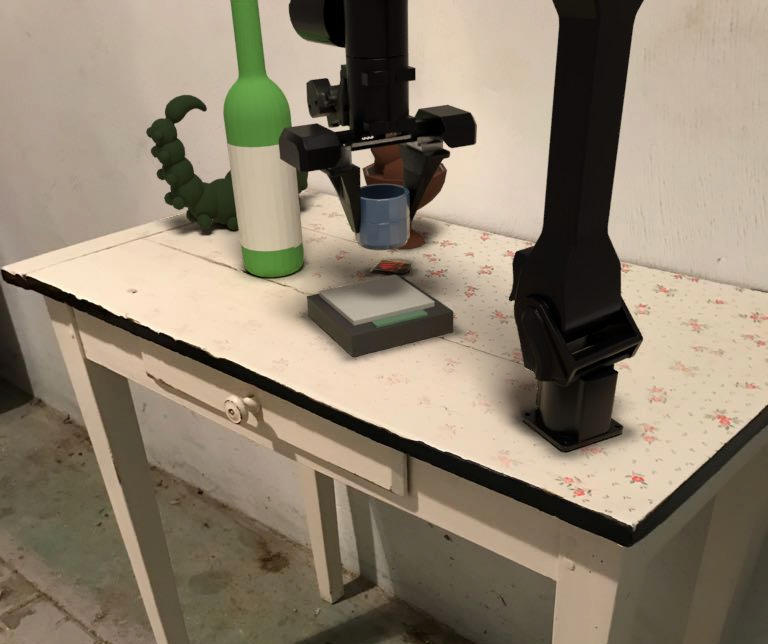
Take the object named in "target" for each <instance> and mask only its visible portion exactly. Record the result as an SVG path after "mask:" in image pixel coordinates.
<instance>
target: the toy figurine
mask: <svg viewBox="0 0 768 644" xmlns="http://www.w3.org/2000/svg"><path fill="white" fill-rule="evenodd" d="M193 110H199V111H202V112H205V113H206V112H207V110H208V108H207V105H206V104H205V102H203V100H201V99H200V98H198V97H196V96H194V95H192V94H181V95H178V96H175V97H173V98H172V99H171V100H169V101H168V102H167V104H166V105H165V109H164V116H165V118H161V117H160V118H157V119H156V120H154V121H153V122H152V123H151V124H150V126H149V127H147V128H146V130H145V131H146V132H145V133H146V135H147V137H148V138H149V139H151V140H152V142H153V143H154V144H155V145H153V147H152V148H150V154H151V155H152V157H153V158H155V159H157V160H158V162H159V163H160V164H161V165H162V166H161V167H160V168H159V169H157V171H156V178H157V179H159V180H160V181H165V182H166V184H167V185H169V187H170V188H169V189H170V190H169V191H168V192H167V193H165V194H164V197H163V199H164V202H165V204H166V205H169V206H170V207H172V208H174V209H175V210H177V211H181V210H183V209H185V208H187V210H186V212H185V213H186V215H185V217H186V218H187V221H189V222H190V223H196V224H197V225H198V226H199V227H200V228H201V229H204V230H209V228H211V227H212V225H213V222H215V223H217V224H221V225H226V227H227V228H228V229H229V230H232V231H236V230H239V228H238V221H237V214H236V206H235V199H234V192H233V184H232V177H231V169H229V171H228V172H226V174H225V176H224V178H223V177H221V178H217V179H214V180H212V181H211V182H205V181H204V182H203V180H202V179H201V177H199V176H198V174H196V173H195V169H194V166H193V164H192V162H191V161H190V160H189V159H188V158H187V157H186V148H185V145H184V143H183V142H182V140H181V139H179V138H178V130H177V127H176V124H179V123H180V122H181V121H182V120H184V119H185V117H186V115H187V114H188V113H189V112H190V111H193ZM296 174H297V185H298V196H299V206H301V205H302V199H301V197H300V194H301V193H302V192H303V191H306V190H307V189H308V187H309V183H308V178H309V172H303V171H299V170H297V169H296Z"/></svg>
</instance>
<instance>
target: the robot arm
mask: <svg viewBox="0 0 768 644" xmlns="http://www.w3.org/2000/svg"><path fill="white" fill-rule="evenodd" d="M551 2H552V4H553V7H554V9H555V11H556V14H557V17H558V31H557V32H558V33H557V45H556V56H555V70H554V82H553V95H552V107H551V117H550V131H549V132H550V133H549V143H548V145H549V146H548V157H547V170H546V180H545V181H546V183H545V195H544V206H543V218H542V228H541V232H540V235H539V236H538V237H537V239H536V242H535V243H534V245H531V246H528V247H525V248H522V249H519V250H516V251H515V252H514V256H513V259H512V264H511V266H512V267H511V268H512V286H511V290H510V293H509V296H508V301H509V302H513V301H514V302H513V317H514V323H515V325H516V329H517V335H518V340H519V346H520V352H521V358H522V362H523V363H522V364H523V367H524V368H525V369H527V370H528V371H530V372H533V375H534V379H535V380H537V385H536V386H537V387H536V395H535V396H536V397H535V406H536V408H534V409H531V410H528V411H524V412H522V414H521V419H522V421H523V422H524V423H526V424H527V425H528V426H530V427H531V428H533V429H534V430H535V431H536V432H538V433H539V434H540V435H541V436H543V437H544V438H545V439H546V440H548V441H549V442H550V443H551V444H553V445H554V446H555V447H556V448H558V449H559V450H561V451H564V452H566V451H567V452H568V451H571V450H575V449H577V448H580V447H583V446H587V445H589V444H592V443H595V442H599V441H602V440H605V439H608V438H611V437H614V436H617V435H620V434H623V432H624V425H623V424H621V423H620V422H619V421H617V420H615V419H614V418H613V417H612V415H613V409H614V402H615V397H616V390H617V385H618V378H619V371H618V370H616V369H615V364H617V363H620V362H622V361H624V360H626V359H632V358H633V357H635V356H636V354H637V353H638V350H639V349H640V347H641V345H642V343H643V341H644V337H643V333H642V332H641V330H640V329H639V327H638V325H637V323H636V321H635V319H634V317H633V315H632V314H631V311H630V310H629V307H628V305H627V304H626V302H625V300H624V298H623V296H622V263H621V260H620V258H619V256H618V253H617V250H616V248H615V246H614V244H613V241H612V239H611V237H610V235H609V223H610V215H611V206H612V199H613V190H614V183H615V174H616V167H617V166H616V165H617V160H618V152H619V151H618V149H619V144H620V137H621V136H620V135H621V129H622V127H621V126H622V120H623V113H624V112H623V111H624V103H625V96H626V88H627V79H628V72H629V64H630V58H631V50H632V49H631V48H632V41H633V34H634V26H635V21H636V16H637V15H638V12H639V10H640V8H641V6H642V4H643V3H644V2H645V0H551ZM288 16H289V20H290V22H291V25H292V29H294V32H295V33H296V34H297V35H298V36H299V37H300V38H301V39H302V40H305V41H307V42H310V43H315V44H319V45H325V46H331V47H337V48H343V49H344V50H345V51H344V52H345V63H344V64H340V70H339V83H338V84H334V85H332V84H331V82H330V78H327V77H323V78H314V79H310V80H308V81H307V82H306V83H305V86H306V88H305V89H306V103H307V108H308V113H309V116H310V117H311V118H312V119H316V118H324V117H326V122H327V126H328V127H325V126H324V125H321V124H320V123H318V122H315V123H309V124H301V125H295V126H294V125H293V126H292V127H287V128H284V129H283V131H282V133H281V135H280V138H279V151H280V159H281V160H283V161H284V162H286V163H288V164H289V165H291V166H292V167H294V168H296V169H297V170H299V171H303V172H308V173H309V172H315V171H317V172H318V171H320V172H321V173H323V174H325V175H326V176H327V177H328V179H329V182H330V183H331V185H332V187H333V188H334V190H335V192H336V194H337V198H338V200H339V202H340V205H341V207H342V210H343V212H344V215H345V217H346V221H347V222H348V225H349V227H350V230H351V231H352V233H354V234H355V233H356V234H357V233H359V232H360V224H361V187H362V186H361V185H362V183H361V167H360V166H358V165H356V164H355V163H353V158H352V153H353V152H357V151H365V150H370V149H371V148H377V147H383V146H390V145H396V144H398V147H399V150H400V154H401V158H402V161H403V186H404V187H406V188H408V189H409V197H410V223H413V221H414V218H415V217H416V215H417V212H418V211H419V210H418V207H419V205H420V203H421V201H422V198H423V196H424V194H425V192H426V190H427V187H428V185H429V183H430V182H431V180H432V178H433V176H434V174H435V173H436V171H437V169H438V167H439V165H440V164H441V163H443V160H445V159H449V158H450V157H451V151H450V150H448V149H446V148H444V144H445V145H446V146H447V147H448V148H450V149H457V148H462V147H463V148H464V147H469V146H474V145H476V144H477V137H478V136H477V135H478V134H477V133H478V124H477V122H476V119H475V116H474V115H473V114H472V112H470V111H467V110H465V109H461V108H459V107H455V106H453V105H450V104H443V105H436V106H429V107H422V108H418V109H417V111H416V113H415V114H414V116H413V115H411V114H410V82H414V81H417V80H416V77H417V76H416V72H417V71H416V69H417V68H416V67H414V66H411V65H410V63H409V61H410V59H409V58H410V57H409V55H410V53H409V0H290V1H289V3H288ZM340 126H341V127H348V129H344V130H339V131H338V130H337V131H335V130H332V128H339V127H340ZM393 133H397V134H395V135H391V136H389V135H388V136H386V134H393Z"/></svg>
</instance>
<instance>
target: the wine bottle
mask: <svg viewBox="0 0 768 644" xmlns="http://www.w3.org/2000/svg"><path fill="white" fill-rule="evenodd" d="M229 2H230V10H231V18H232V26H233V35H234V45H235V52H236V54H235V55H236V61H237V70H238V72H237V73H238V75H237V76H238V77H237V79H236V81H235V82H234V83H233V84H232V85H231V86H230V88H229V90H228V91H227V94H226V96H225V98H224V103H223V111H222V113H223V114H222V115H223V124H224V131H225V138H226V147H227V153H228V162H229V170H231V177H232V184H233V192H234V199H235V206H236V214H237V221H238V235H239V242H240V249H241V255H242V261H243V262H242V263H243V265H244V268H245V269H246V271H247V272H249V273H250V274H252V275H255V276H257V277H260V278H261V277H262V278H277V277H284V276H288V275H291V274H293V273H295V272H297V271H299V270H300V269H301V267H303V264H304V260H305V259H304V258H305V254H304V243H303V230H302V229H303V228H302V219H301V217H302V216H301V208H300V206H301V205H300V206H299V197H300V195H299V196H298V185H297V174H296V168H294V167H292V166H291V165H289V164H288V163H286V162H284V161H283V160H281V159H280V151H279V138H280V135H281V133H282V131H283V129H284V128H287V127H293V126H292V125H293V124H292V114H291V113H292V112H291V107H290V105H289V102H288V99H287V96H286V95H285V93H284V92H283V90H282V89H281V87H280V86H279V85H278V84H277V83H276V82H274V80H272V79H271V78H270V77H269V76H268V73H267V70H266V61H265V52H264V44H263V42H264V41H263V34H262V24H261V15H260V8H259V7H260V6H259V0H229Z"/></svg>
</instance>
